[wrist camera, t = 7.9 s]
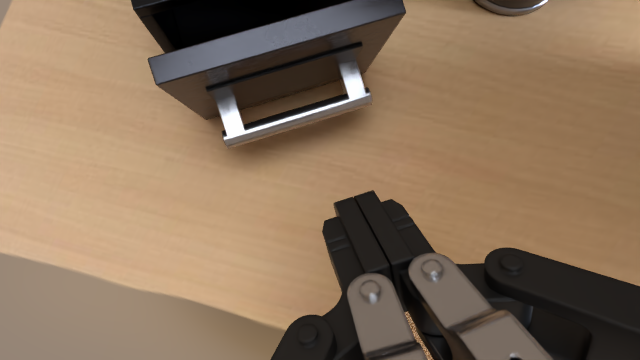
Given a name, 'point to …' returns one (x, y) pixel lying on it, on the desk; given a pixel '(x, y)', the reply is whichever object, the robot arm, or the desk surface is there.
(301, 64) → the oven door
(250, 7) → the oven
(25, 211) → the desk surface
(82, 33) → the desk surface
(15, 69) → the desk surface
